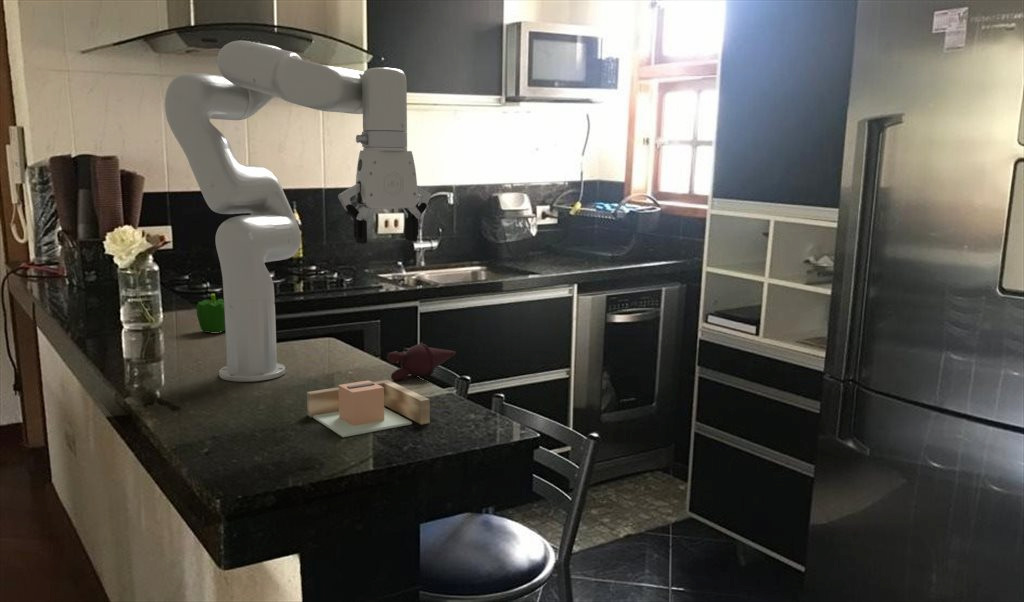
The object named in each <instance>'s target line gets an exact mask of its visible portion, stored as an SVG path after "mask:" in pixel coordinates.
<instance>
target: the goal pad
mask: <svg viewBox="0 0 1024 602" xmlns="http://www.w3.org/2000/svg"><path fill="white" fill-rule="evenodd" d="M312 418H313V419H314V420H316V421H317V422H318V423H320V424H322V425H324V426H325V427H326V428H328V429H330V430H332V432H334V433H336V434H337V435H339V436H340V437H342V438H347V437H353V436H357V435H362V434H367V433H368V434H369V433H372V432H379V431H384V430H389V429H394V428H399V427H404V426H409V425H412V424H413V422H412V420H409V419H408V418H405V417H403V415H402V416H401V414H399V413H396V412H395V411H393V410H391V409H388V408H386V407H384V420H382V421H377V422H371V423H366V424H360V425H355V426H353V425H351V424H350V423H348V422H346V421H345V420H343V419H341V418H339V411H338V412H332V413H326V414H320V415H314V416H313V417H312Z"/></svg>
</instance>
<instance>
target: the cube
mask: <svg viewBox="0 0 1024 602" xmlns="http://www.w3.org/2000/svg"><path fill="white" fill-rule="evenodd" d="M373 382H374V381H371V380H363V381H356V382H348V383H344V384H343V383H342V384H337V385H338V391H339V418H341V419H343V420H345V421H346V422H348V423H350V424H351V425H353V426H355V425H360V424H366V423H371V422H377V421H382V420H384V408H385V405H384V387H382V386H380V385H378V384H376V383H373Z"/></svg>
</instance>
